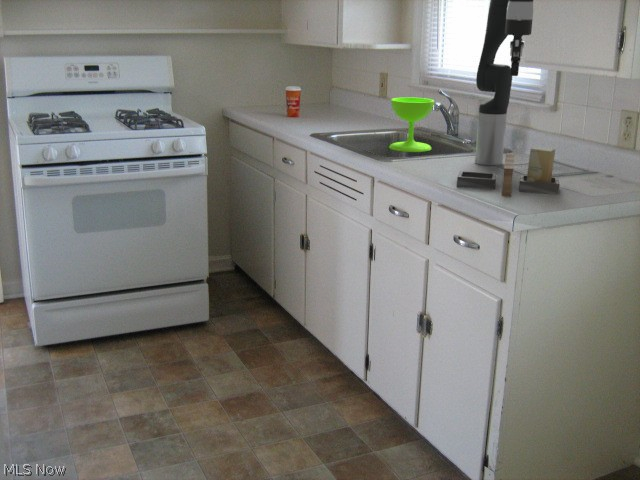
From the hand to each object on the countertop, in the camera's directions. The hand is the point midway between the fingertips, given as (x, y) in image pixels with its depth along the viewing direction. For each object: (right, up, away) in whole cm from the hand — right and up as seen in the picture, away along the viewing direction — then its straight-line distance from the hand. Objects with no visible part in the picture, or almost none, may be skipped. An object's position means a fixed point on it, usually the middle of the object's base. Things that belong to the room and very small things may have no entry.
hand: (514, 74), depth 221 cm
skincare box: (+6, -35, -3) cm, 35 cm away
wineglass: (-24, -15, +59) cm, 65 cm away
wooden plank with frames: (-2, -34, -1) cm, 34 cm away
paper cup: (-71, +10, +135) cm, 153 cm away
